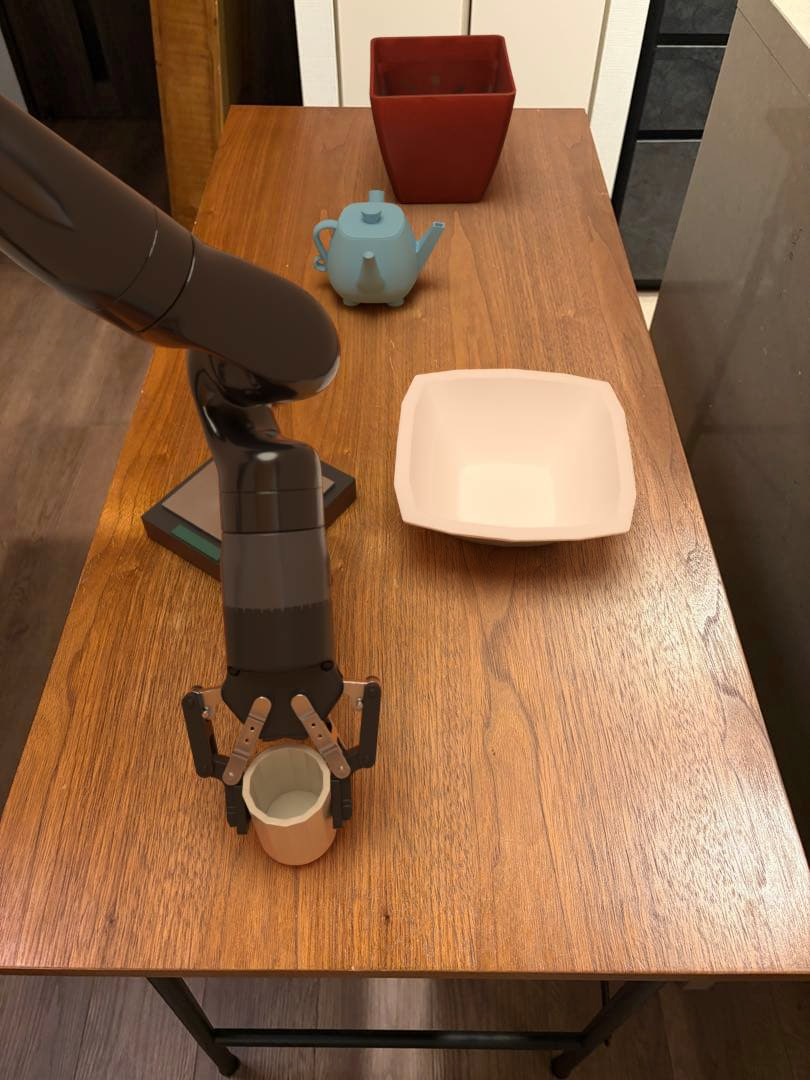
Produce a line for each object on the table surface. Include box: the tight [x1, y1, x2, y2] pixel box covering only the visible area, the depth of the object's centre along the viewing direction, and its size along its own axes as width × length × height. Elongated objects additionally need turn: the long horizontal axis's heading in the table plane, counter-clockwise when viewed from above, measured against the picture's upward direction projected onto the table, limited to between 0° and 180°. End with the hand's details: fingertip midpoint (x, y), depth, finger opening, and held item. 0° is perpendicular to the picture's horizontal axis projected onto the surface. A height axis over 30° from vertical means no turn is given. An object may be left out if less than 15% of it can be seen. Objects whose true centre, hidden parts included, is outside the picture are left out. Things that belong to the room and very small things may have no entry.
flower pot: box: [368, 34, 517, 204], centre depth 121 cm, size 19×19×17 cm
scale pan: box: [162, 460, 335, 543], centre depth 83 cm, size 12×12×1 cm
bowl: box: [393, 368, 638, 548], centre depth 83 cm, size 22×23×8 cm
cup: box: [242, 741, 338, 866], centre depth 61 cm, size 6×6×8 cm
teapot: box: [312, 189, 446, 307], centre depth 106 cm, size 15×14×11 cm
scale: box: [140, 456, 358, 583], centre depth 84 cm, size 16×14×3 cm
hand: (291, 826), depth 60 cm, fingers closed on cup, 6 cm apart
